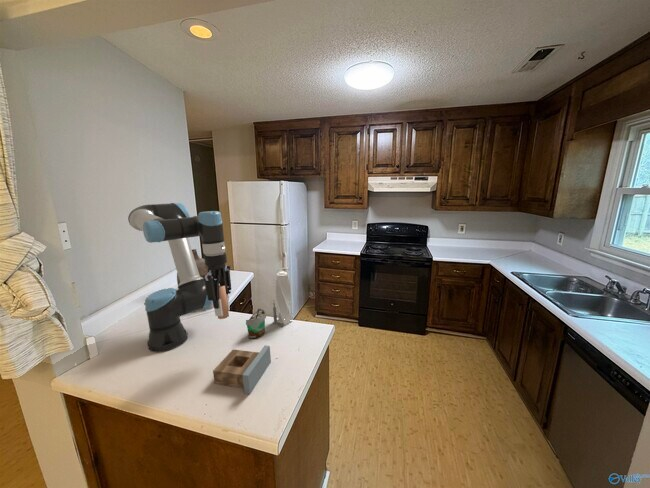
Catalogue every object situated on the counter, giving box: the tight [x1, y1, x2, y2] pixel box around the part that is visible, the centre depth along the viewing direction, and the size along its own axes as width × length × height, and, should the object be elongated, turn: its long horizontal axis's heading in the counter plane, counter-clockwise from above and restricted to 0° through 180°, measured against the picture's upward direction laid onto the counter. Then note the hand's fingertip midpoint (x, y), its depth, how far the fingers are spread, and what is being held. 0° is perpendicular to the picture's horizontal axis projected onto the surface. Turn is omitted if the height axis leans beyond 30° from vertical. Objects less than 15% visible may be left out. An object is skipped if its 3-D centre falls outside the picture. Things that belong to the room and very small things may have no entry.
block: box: [212, 348, 260, 389], centre depth 92 cm, size 12×12×5 cm
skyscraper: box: [272, 266, 293, 327], centre depth 127 cm, size 8×8×28 cm
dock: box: [242, 345, 272, 395], centre depth 92 cm, size 23×16×8 cm
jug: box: [176, 248, 208, 286], centre depth 167 cm, size 24×21×30 cm
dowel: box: [217, 284, 230, 320], centre depth 99 cm, size 4×4×12 cm
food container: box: [245, 308, 267, 340], centre depth 118 cm, size 12×6×10 cm, turn 168°
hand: (222, 312), depth 100 cm, fingers closed on dowel, 4 cm apart
